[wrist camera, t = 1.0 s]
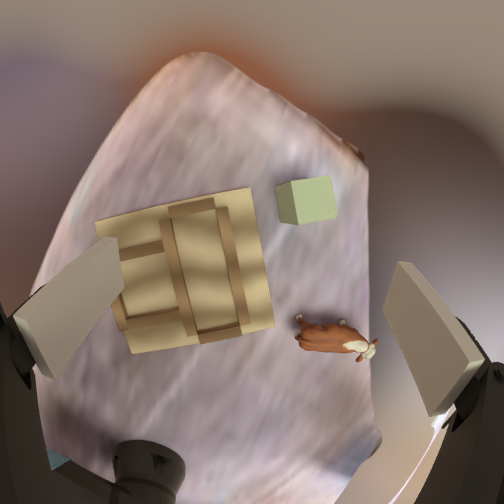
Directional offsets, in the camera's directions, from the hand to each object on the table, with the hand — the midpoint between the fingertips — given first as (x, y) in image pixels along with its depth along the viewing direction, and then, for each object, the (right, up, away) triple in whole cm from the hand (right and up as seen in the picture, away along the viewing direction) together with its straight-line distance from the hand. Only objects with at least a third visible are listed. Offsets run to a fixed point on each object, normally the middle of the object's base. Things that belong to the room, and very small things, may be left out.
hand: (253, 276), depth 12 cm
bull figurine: (+11, -11, +30) cm, 34 cm away
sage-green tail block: (+6, +8, +27) cm, 29 cm away
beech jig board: (-9, -2, +26) cm, 27 cm away
